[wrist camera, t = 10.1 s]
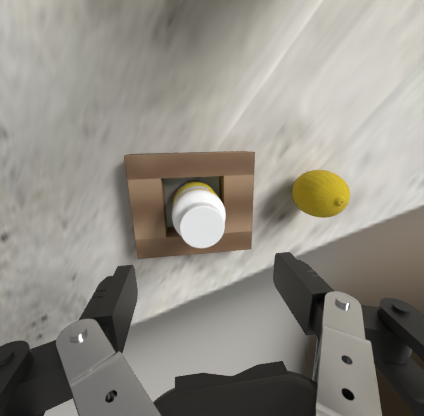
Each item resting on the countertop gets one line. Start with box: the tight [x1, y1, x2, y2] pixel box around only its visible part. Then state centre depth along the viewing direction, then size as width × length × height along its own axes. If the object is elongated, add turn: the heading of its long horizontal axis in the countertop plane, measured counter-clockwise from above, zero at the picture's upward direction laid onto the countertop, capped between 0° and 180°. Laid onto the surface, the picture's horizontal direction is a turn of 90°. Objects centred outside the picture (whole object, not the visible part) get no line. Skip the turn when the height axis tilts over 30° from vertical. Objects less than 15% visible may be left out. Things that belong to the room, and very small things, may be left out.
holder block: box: [124, 151, 255, 259], centre depth 27 cm, size 12×14×4 cm
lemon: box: [292, 170, 350, 218], centre depth 26 cm, size 6×6×8 cm
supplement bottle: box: [172, 180, 226, 248], centre depth 23 cm, size 5×5×10 cm
